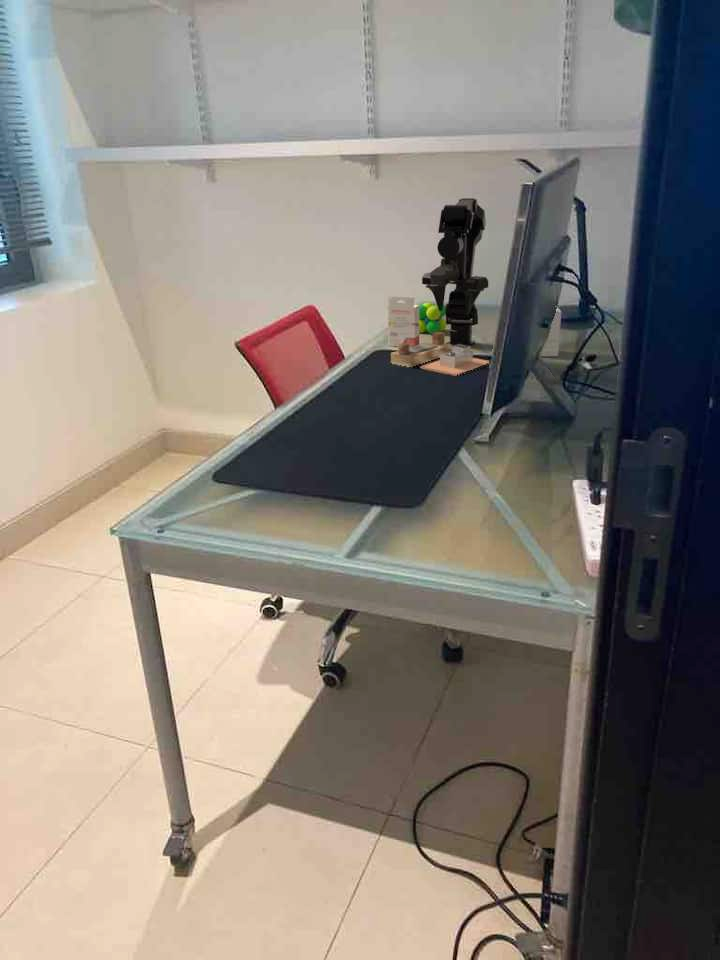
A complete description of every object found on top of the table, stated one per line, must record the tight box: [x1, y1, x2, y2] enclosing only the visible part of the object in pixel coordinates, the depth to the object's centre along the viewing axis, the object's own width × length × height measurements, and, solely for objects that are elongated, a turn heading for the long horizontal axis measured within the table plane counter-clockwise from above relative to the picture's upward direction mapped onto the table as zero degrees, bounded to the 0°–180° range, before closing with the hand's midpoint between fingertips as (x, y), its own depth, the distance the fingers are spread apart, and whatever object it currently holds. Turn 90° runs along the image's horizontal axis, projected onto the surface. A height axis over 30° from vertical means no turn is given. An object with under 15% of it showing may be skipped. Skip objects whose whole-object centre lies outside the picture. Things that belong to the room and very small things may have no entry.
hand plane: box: [390, 331, 452, 368], centre depth 211 cm, size 18×7×6 cm, turn 137°
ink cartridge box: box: [387, 295, 420, 347], centre depth 226 cm, size 9×5×15 cm, turn 68°
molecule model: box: [418, 302, 447, 335], centre depth 243 cm, size 9×9×9 cm
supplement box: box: [541, 306, 562, 357], centre depth 212 cm, size 7×7×13 cm
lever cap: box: [439, 344, 474, 368], centre depth 204 cm, size 8×5×4 cm, turn 137°
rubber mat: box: [419, 357, 490, 377], centre depth 205 cm, size 16×12×1 cm
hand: (453, 312), depth 211 cm, fingers open, 9 cm apart
